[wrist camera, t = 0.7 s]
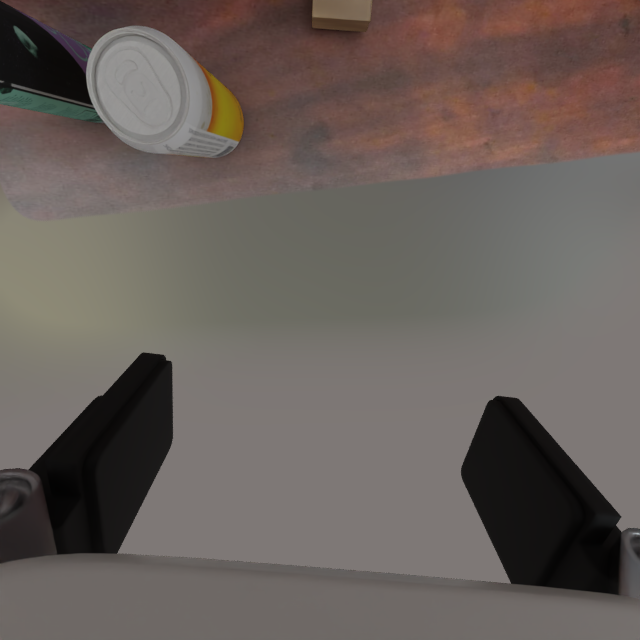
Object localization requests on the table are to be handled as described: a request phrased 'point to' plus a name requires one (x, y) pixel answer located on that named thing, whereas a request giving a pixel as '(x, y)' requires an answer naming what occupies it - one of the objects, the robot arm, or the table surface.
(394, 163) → the table surface
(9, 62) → the spray can
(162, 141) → the beer can
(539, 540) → the robot arm
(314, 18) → the tan rectangular block
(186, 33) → the table surface
